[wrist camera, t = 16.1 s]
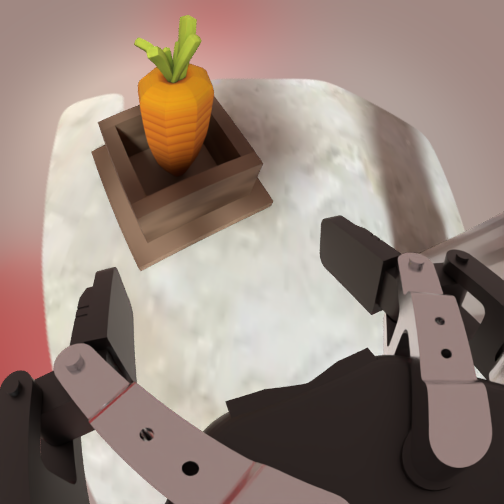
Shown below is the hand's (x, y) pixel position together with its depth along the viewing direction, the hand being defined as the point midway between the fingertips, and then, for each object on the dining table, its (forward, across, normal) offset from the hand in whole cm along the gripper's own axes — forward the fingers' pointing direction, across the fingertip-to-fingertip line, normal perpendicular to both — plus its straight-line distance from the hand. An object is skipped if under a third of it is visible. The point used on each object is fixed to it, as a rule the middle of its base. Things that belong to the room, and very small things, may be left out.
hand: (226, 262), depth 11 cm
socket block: (+18, 0, +1) cm, 18 cm away
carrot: (+17, 0, +1) cm, 17 cm away
